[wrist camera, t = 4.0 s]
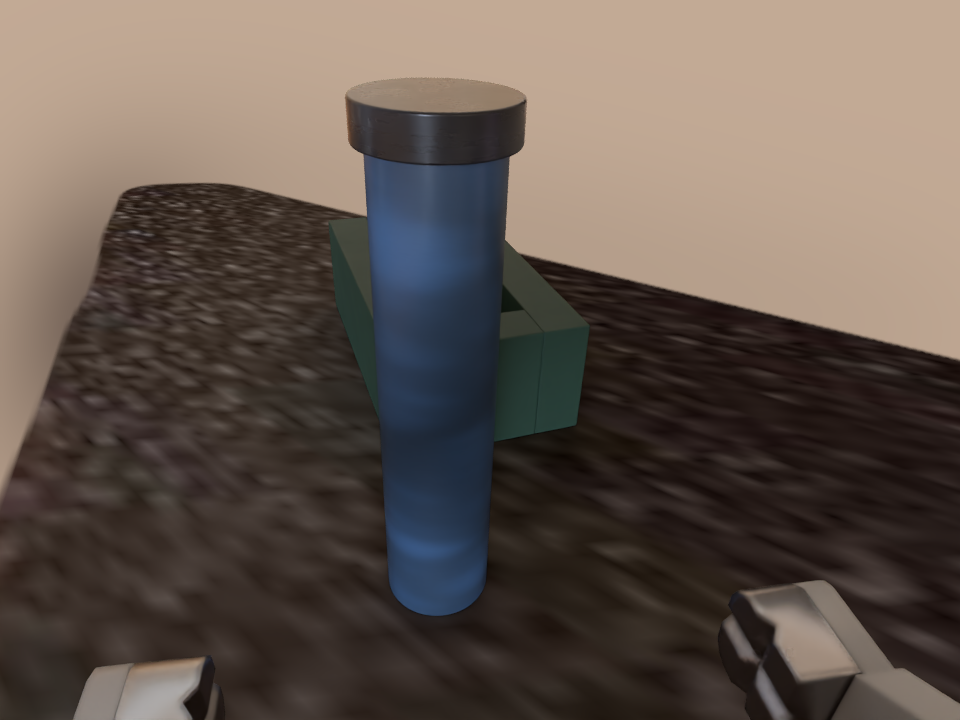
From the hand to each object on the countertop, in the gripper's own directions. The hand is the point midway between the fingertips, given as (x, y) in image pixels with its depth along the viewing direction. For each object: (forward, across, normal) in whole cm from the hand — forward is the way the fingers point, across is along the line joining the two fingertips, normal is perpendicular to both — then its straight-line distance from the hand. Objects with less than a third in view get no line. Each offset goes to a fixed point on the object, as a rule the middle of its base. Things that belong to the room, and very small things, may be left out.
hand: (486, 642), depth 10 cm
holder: (+22, -2, +8) cm, 24 cm away
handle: (+8, 0, +8) cm, 12 cm away
